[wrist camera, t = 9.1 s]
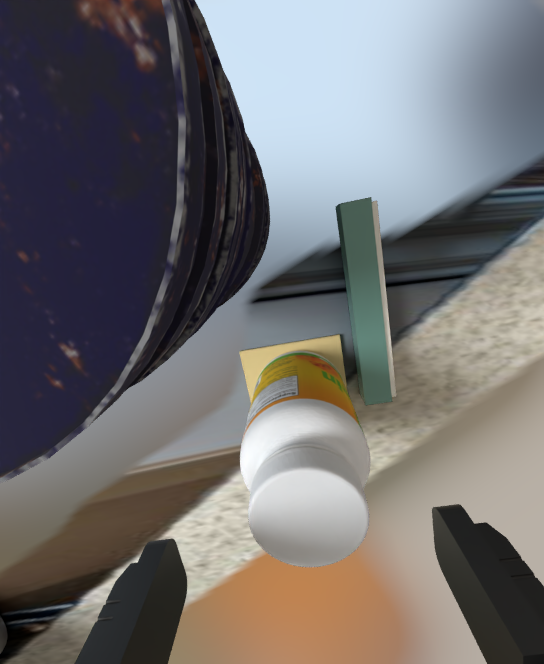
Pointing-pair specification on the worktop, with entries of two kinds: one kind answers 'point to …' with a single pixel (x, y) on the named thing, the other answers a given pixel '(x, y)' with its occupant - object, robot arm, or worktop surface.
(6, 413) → the dark blue cylinder
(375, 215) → the price rail
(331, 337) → the pad
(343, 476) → the supplement bottle
